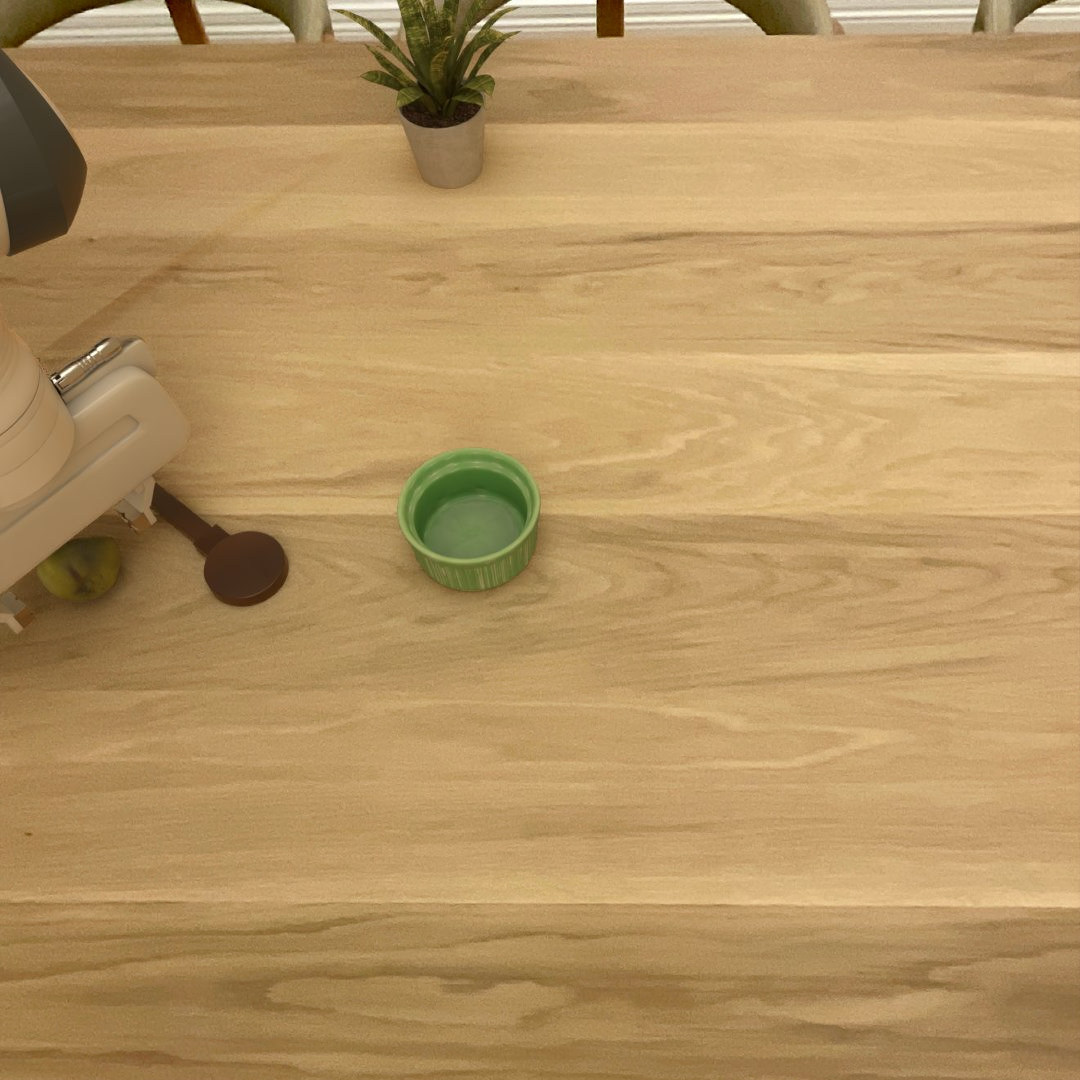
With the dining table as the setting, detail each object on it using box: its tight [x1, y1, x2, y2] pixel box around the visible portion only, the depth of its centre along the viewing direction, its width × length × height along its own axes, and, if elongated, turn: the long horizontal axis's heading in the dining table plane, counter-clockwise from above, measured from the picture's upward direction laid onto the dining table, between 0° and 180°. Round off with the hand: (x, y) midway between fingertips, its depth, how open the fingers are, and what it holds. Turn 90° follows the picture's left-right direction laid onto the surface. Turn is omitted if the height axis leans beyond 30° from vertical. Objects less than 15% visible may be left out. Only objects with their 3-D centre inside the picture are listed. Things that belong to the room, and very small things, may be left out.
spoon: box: [150, 481, 289, 607], centre depth 77 cm, size 16×5×1 cm, turn 50°
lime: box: [35, 535, 121, 603], centre depth 73 cm, size 4×5×5 cm
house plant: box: [331, 0, 522, 189], centre depth 89 cm, size 14×14×16 cm
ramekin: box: [396, 446, 542, 592], centre depth 74 cm, size 9×9×4 cm
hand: (82, 571), depth 74 cm, fingers open, 8 cm apart
